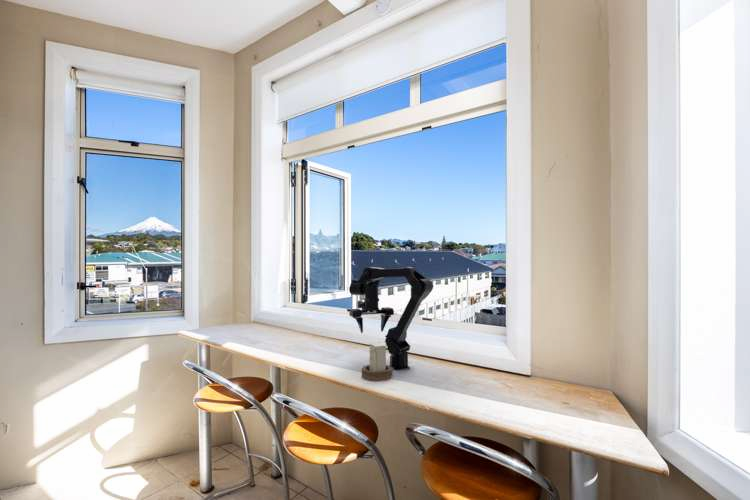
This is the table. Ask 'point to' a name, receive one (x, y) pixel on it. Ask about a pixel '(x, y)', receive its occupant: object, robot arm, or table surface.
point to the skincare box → (377, 357)
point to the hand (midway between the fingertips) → (371, 332)
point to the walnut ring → (376, 374)
